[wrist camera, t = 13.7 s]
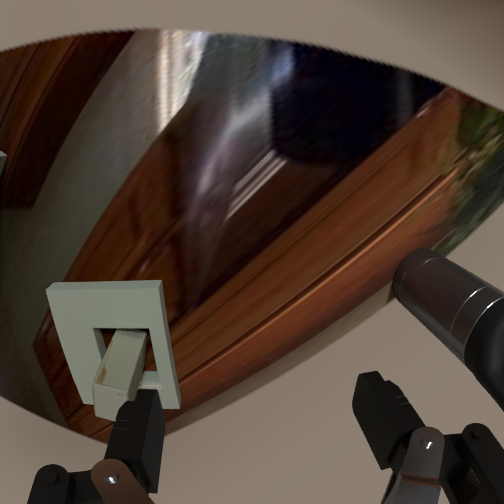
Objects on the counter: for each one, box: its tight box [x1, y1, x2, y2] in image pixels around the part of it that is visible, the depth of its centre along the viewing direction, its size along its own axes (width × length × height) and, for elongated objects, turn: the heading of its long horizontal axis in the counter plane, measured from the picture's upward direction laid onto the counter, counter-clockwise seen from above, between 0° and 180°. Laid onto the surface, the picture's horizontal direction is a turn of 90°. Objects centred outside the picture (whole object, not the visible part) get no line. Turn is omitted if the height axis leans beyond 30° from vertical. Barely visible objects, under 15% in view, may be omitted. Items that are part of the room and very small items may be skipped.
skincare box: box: [92, 328, 147, 421], centre depth 36 cm, size 6×4×12 cm
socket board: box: [46, 280, 181, 409], centre depth 40 cm, size 16×20×3 cm
